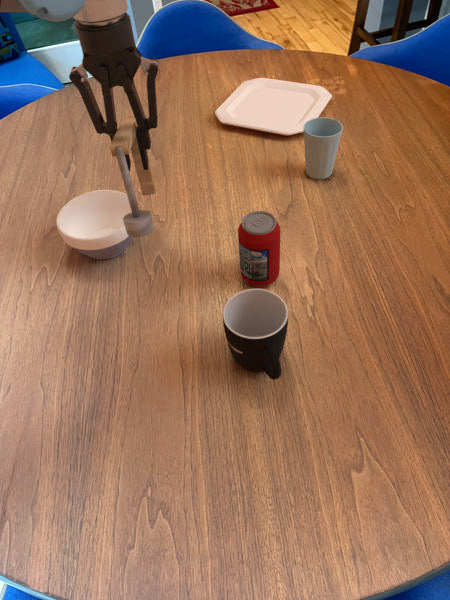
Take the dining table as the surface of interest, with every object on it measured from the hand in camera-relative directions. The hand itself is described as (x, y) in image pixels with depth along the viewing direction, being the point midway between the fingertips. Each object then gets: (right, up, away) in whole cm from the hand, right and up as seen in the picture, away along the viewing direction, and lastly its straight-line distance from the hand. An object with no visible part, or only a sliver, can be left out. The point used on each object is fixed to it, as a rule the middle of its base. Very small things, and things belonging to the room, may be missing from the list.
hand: (137, 166), depth 83 cm
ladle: (+2, -8, -1) cm, 8 cm away
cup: (+35, +4, +20) cm, 41 cm away
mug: (+20, -33, -11) cm, 40 cm away
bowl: (-7, -13, +9) cm, 17 cm away
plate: (+27, +25, +38) cm, 53 cm away
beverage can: (+21, -19, +1) cm, 29 cm away
